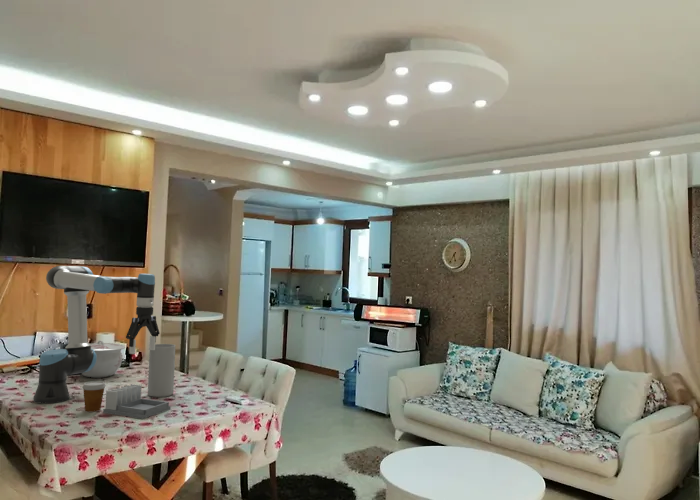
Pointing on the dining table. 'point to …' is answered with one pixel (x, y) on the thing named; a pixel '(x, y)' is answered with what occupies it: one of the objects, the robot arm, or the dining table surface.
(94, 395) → the disposable coffee cup
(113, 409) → the dish rack
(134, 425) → the dining table surface
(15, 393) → the dining table surface
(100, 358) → the chamber pot
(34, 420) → the dining table surface
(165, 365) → the cylinder vase
